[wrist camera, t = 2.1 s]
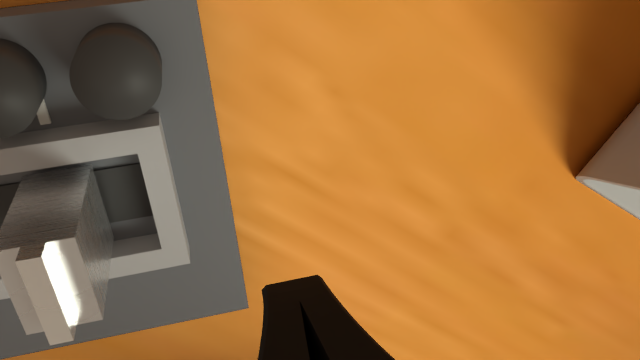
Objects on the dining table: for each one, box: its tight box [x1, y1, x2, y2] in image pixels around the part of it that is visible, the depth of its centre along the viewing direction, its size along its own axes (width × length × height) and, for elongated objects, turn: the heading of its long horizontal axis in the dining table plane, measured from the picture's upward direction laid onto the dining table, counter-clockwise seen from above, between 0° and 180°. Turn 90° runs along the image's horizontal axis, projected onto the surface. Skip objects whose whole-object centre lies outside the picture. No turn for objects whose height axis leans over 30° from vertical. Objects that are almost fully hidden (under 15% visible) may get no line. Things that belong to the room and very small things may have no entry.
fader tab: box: [0, 164, 114, 345], centre depth 17 cm, size 3×2×5 cm
